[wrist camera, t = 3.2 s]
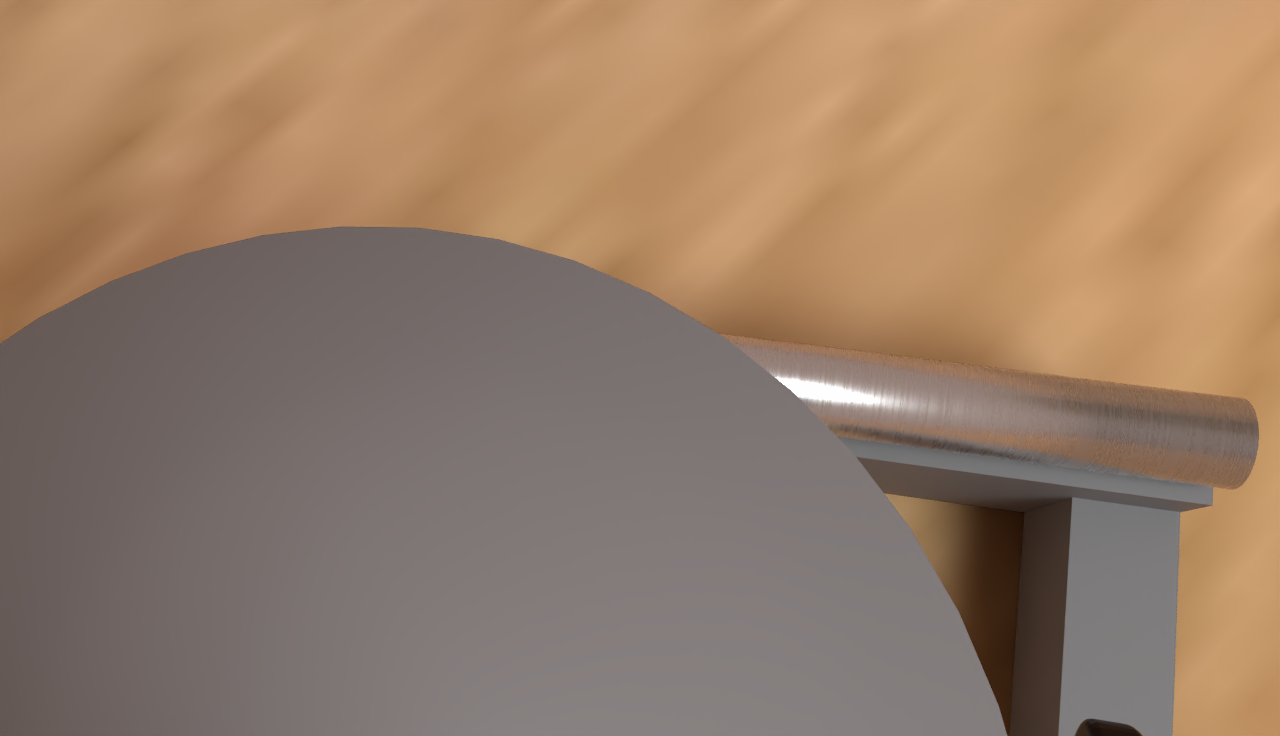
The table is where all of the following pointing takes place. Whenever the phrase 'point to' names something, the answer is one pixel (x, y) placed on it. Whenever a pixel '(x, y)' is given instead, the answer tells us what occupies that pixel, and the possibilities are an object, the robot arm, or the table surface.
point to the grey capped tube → (442, 513)
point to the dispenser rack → (1047, 503)
